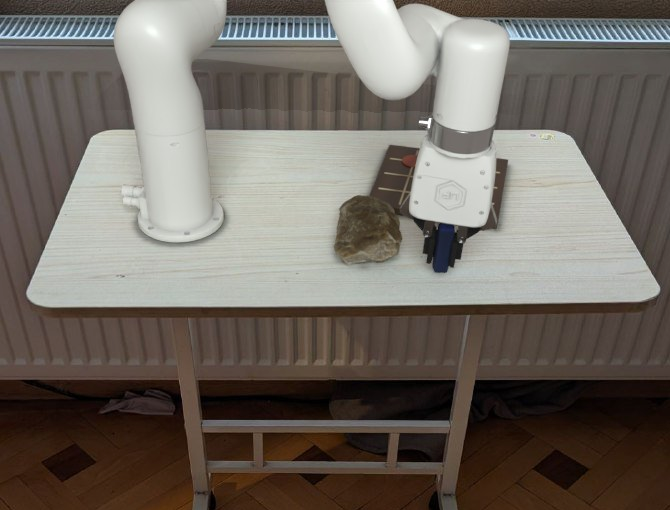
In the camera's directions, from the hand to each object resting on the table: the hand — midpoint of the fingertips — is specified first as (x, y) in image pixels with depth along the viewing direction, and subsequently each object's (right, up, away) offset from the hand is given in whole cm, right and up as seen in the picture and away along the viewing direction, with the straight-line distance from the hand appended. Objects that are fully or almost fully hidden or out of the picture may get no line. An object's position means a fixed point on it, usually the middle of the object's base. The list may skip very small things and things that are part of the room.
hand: (441, 259), depth 112 cm
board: (+2, +15, +20) cm, 25 cm away
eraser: (0, -1, +1) cm, 2 cm away
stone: (-10, +3, +8) cm, 13 cm away
